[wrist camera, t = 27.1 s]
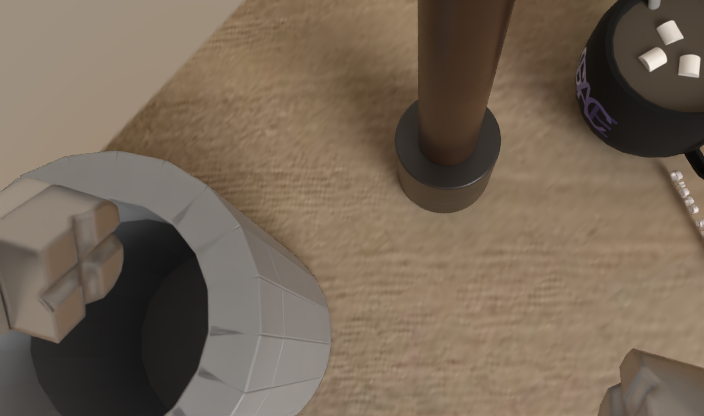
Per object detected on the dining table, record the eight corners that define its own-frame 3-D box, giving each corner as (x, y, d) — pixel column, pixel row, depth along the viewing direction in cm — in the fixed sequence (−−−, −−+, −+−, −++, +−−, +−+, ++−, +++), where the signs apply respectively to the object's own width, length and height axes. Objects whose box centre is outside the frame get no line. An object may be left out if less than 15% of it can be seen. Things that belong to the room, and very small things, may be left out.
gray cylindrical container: (99, 369, 27) (-148, 379, 15) (209, 203, 28) (59, 95, 16) (259, 484, 25) (120, 596, 13) (369, 301, 26) (329, 258, 14)
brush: (381, 185, 27) (331, -38, 12) (426, 112, 28) (435, -193, 12) (461, 230, 26) (520, 52, 11) (505, 153, 27) (621, -119, 12)
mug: (536, 67, 28) (577, -33, 21) (666, 17, 28) (753, -102, 20) (662, 319, 25) (762, 303, 17) (808, 263, 25) (969, 224, 17)
